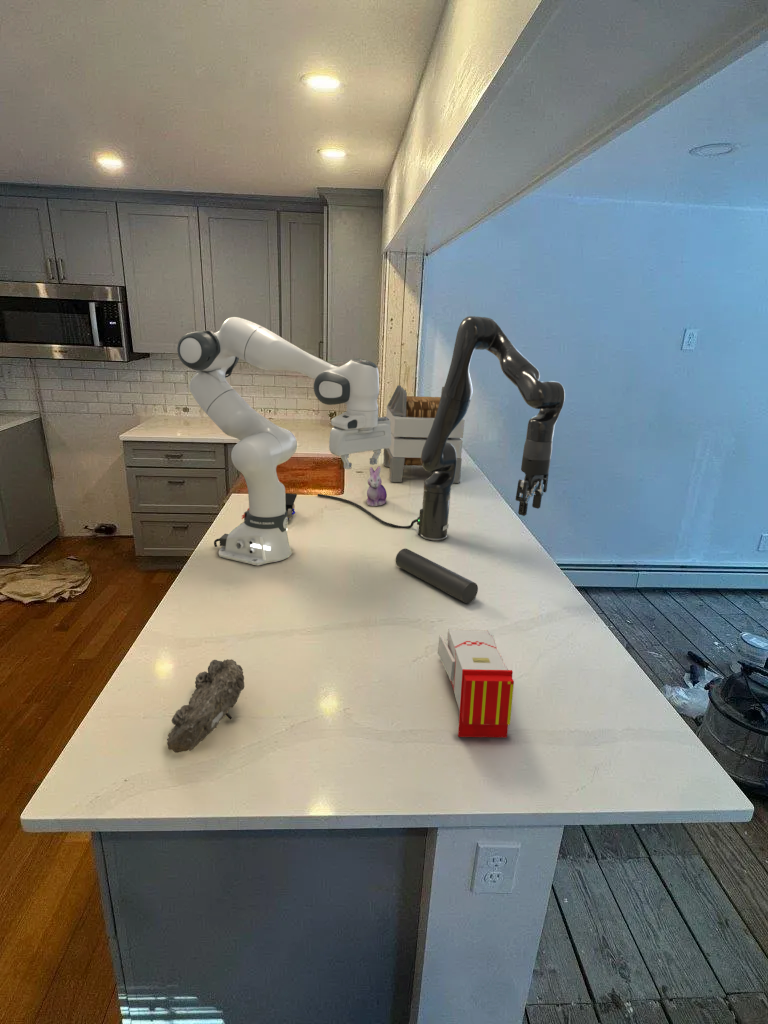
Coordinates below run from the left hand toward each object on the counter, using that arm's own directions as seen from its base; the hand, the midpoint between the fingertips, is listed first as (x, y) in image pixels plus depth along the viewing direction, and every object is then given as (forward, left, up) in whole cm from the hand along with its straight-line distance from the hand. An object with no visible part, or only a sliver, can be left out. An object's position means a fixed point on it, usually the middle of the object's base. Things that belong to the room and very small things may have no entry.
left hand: (360, 466), depth 164 cm
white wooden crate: (+4, +109, -31) cm, 114 cm away
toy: (+37, -54, -31) cm, 72 cm away
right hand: (+49, +2, -9) cm, 50 cm away
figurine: (-7, +59, -31) cm, 67 cm away
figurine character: (-35, +32, -31) cm, 57 cm away
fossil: (-10, -74, -31) cm, 81 cm away
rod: (+24, -6, -31) cm, 40 cm away
